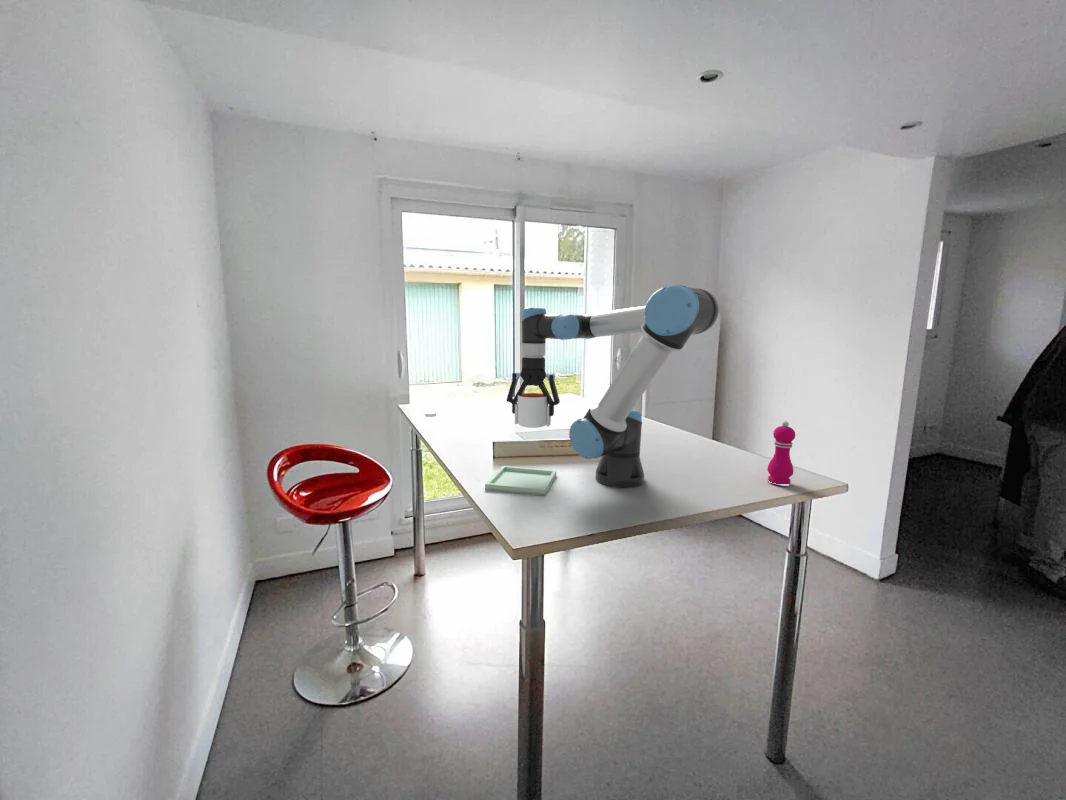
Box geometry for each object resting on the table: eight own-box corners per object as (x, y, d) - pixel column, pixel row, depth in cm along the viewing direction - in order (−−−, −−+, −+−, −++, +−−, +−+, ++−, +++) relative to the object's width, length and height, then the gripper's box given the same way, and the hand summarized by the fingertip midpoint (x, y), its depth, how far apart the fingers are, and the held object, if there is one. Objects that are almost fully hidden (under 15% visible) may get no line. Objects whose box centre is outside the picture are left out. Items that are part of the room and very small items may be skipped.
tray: (556, 475, 150) (556, 470, 149) (545, 495, 132) (545, 489, 132) (502, 471, 154) (502, 465, 153) (485, 489, 136) (485, 483, 136)
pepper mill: (794, 483, 146) (801, 421, 143) (788, 489, 141) (795, 425, 138) (770, 478, 151) (776, 417, 148) (762, 483, 146) (769, 421, 143)
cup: (553, 424, 154) (554, 394, 152) (536, 430, 146) (537, 398, 144) (529, 420, 160) (529, 392, 158) (511, 425, 151) (511, 395, 150)
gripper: (570, 357, 150) (568, 424, 153) (504, 354, 155) (503, 419, 159) (565, 358, 142) (564, 429, 146) (496, 356, 148) (496, 424, 152)
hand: (532, 424), depth 153 cm, fingers closed on cup, 10 cm apart
